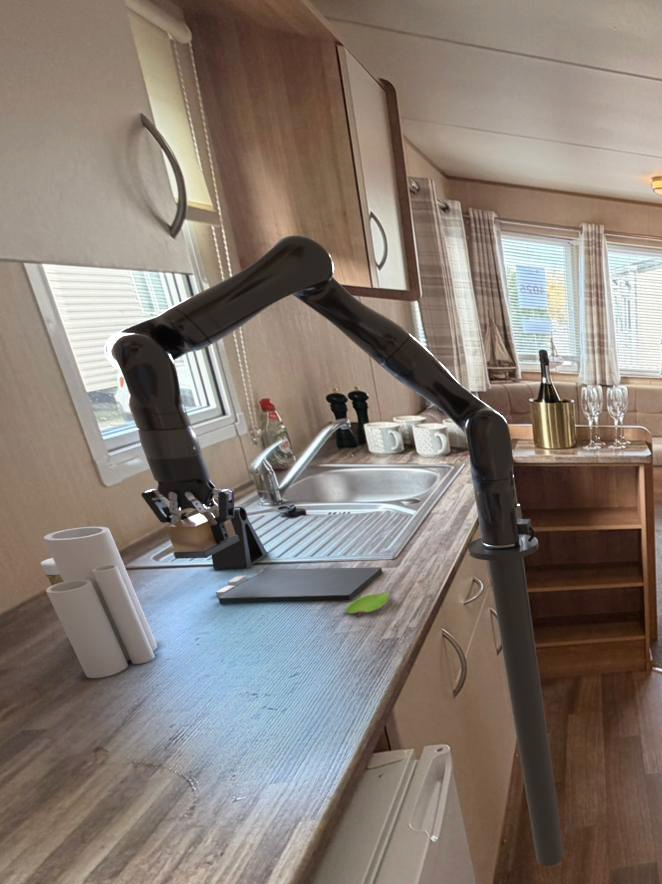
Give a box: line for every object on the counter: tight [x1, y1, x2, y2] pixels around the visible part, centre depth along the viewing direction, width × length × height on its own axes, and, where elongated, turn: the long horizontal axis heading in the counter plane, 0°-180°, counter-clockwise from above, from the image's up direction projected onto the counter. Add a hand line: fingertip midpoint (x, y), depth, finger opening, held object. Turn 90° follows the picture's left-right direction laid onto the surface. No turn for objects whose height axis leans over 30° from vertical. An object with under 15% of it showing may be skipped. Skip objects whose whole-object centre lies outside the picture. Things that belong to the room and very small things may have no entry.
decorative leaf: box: [346, 592, 390, 618], centre depth 121 cm, size 8×9×1 cm
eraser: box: [165, 512, 240, 559], centre depth 120 cm, size 5×10×6 cm, turn 10°
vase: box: [43, 526, 158, 679], centre depth 96 cm, size 11×7×20 cm, turn 31°
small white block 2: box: [227, 575, 248, 587], centre depth 128 cm, size 2×3×1 cm, turn 10°
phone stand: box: [211, 506, 268, 570], centre depth 135 cm, size 9×6×12 cm, turn 15°
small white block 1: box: [215, 585, 236, 598], centre depth 123 cm, size 2×3×1 cm, turn 10°
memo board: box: [218, 566, 383, 605], centre depth 127 cm, size 22×15×1 cm
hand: (206, 542), depth 121 cm, fingers closed on eraser, 4 cm apart
